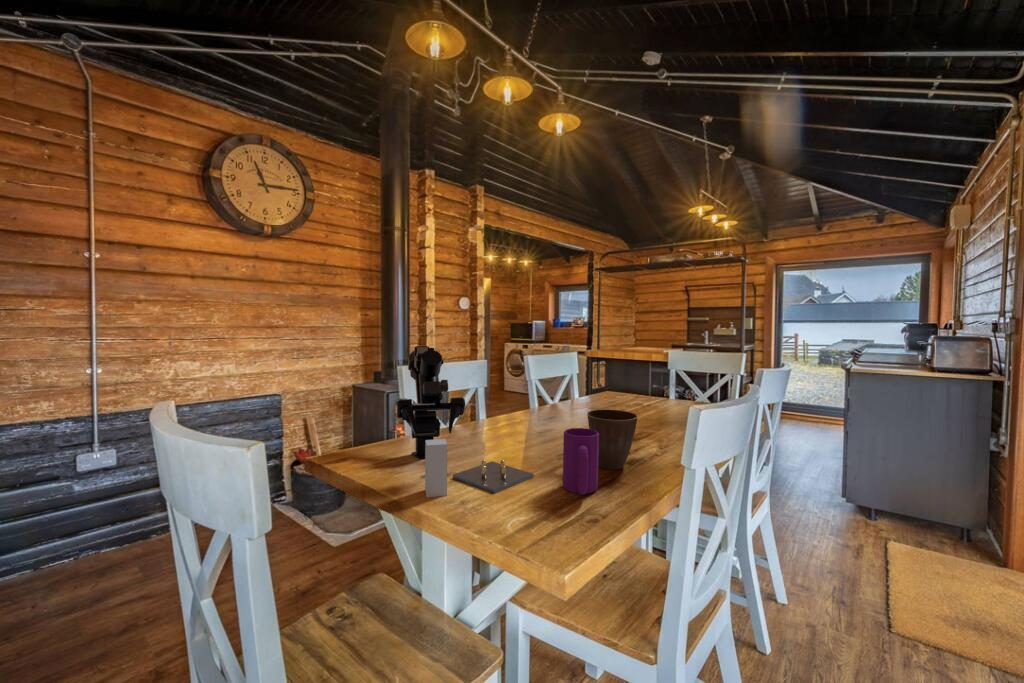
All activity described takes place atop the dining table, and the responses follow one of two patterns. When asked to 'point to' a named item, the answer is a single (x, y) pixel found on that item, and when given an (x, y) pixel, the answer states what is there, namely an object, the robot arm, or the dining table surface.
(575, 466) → the mug
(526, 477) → the plate
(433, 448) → the block
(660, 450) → the dining table surface
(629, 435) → the plant pot
